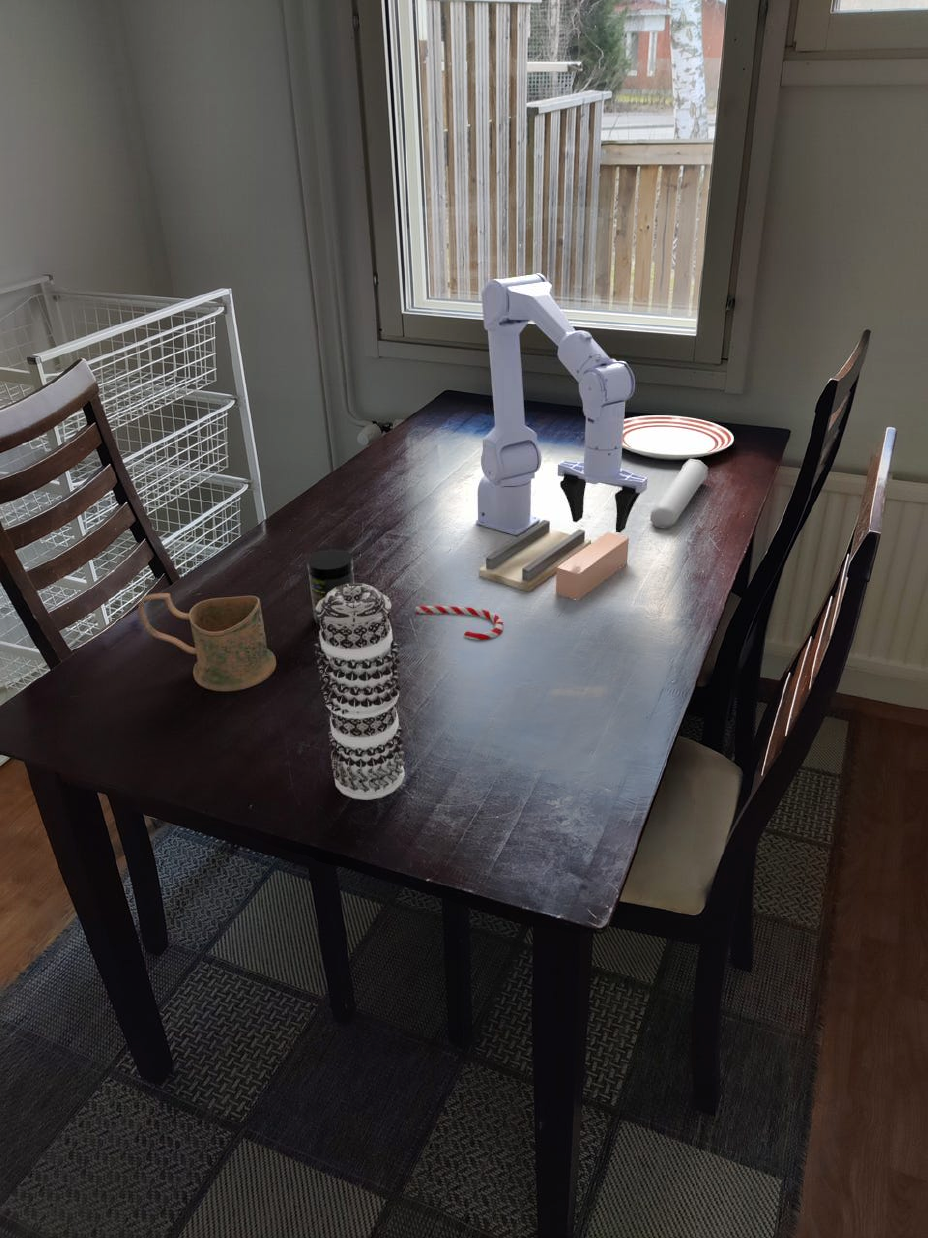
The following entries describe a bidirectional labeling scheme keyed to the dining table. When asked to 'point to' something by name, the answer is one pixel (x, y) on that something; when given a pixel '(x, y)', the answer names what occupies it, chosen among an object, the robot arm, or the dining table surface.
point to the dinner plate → (674, 437)
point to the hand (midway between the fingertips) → (598, 524)
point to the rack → (532, 556)
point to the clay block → (591, 565)
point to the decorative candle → (361, 690)
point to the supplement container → (328, 573)
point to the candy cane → (468, 611)
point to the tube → (678, 494)
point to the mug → (223, 641)
